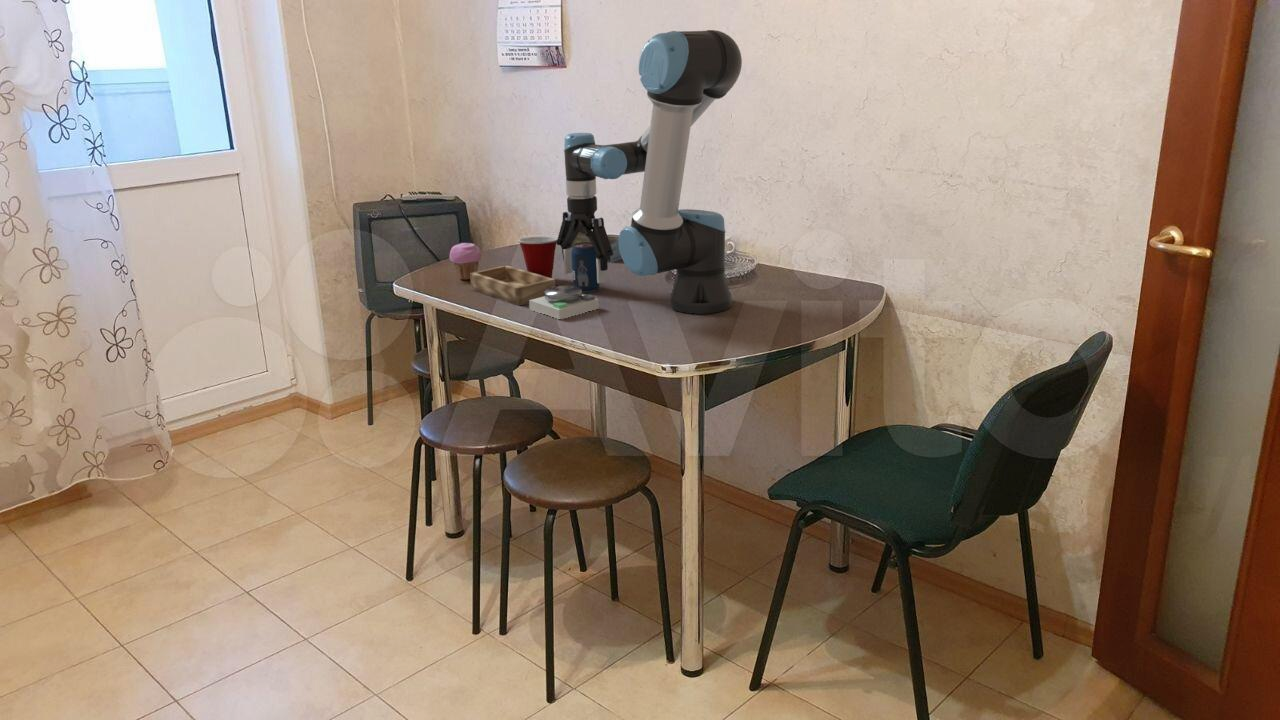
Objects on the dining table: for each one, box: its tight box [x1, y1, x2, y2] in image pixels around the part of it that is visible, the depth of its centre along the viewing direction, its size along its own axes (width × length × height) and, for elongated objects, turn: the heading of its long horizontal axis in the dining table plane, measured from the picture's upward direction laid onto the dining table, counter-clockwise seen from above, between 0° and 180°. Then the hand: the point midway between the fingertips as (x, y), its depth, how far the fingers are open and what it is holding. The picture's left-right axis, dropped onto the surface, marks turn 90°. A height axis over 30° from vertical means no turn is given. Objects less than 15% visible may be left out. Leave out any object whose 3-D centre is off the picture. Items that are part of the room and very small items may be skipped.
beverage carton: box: [561, 232, 623, 263], centre depth 278 cm, size 8×19×7 cm, turn 53°
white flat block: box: [528, 293, 600, 320], centre depth 227 cm, size 12×12×3 cm
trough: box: [469, 264, 556, 307], centre depth 243 cm, size 22×12×4 cm, turn 42°
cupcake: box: [449, 242, 482, 281], centre depth 257 cm, size 9×9×10 cm
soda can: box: [571, 242, 601, 294], centre depth 242 cm, size 7×7×12 cm
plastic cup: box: [517, 235, 558, 279], centre depth 252 cm, size 11×11×12 cm
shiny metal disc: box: [545, 285, 583, 302], centre depth 227 cm, size 9×9×2 cm
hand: (585, 277), depth 243 cm, fingers open, 13 cm apart
